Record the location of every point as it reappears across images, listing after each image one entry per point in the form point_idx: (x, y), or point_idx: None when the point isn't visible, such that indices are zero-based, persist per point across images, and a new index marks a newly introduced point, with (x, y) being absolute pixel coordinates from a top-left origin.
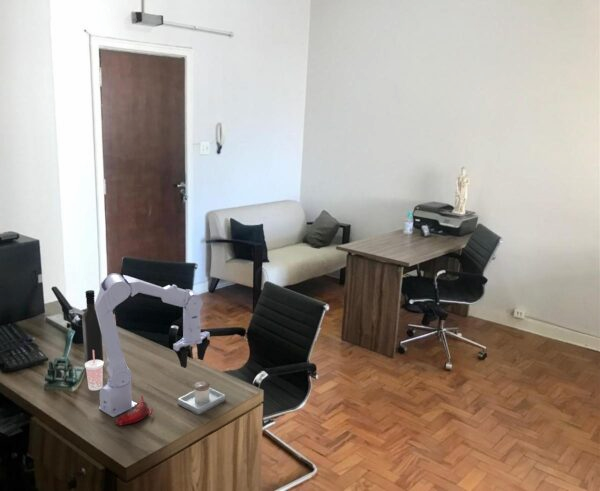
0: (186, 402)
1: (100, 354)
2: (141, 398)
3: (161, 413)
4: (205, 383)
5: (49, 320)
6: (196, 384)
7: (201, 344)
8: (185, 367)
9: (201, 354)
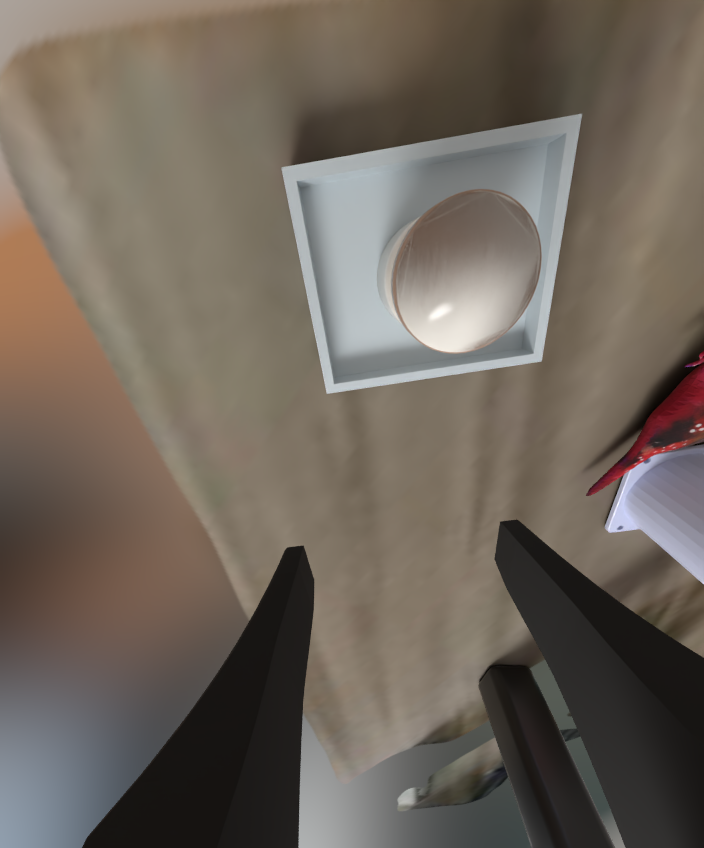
0: (548, 285)
1: (525, 731)
2: (620, 476)
3: (641, 329)
4: (420, 287)
5: (419, 797)
6: (486, 327)
7: (264, 814)
8: (515, 521)
9: (294, 611)
